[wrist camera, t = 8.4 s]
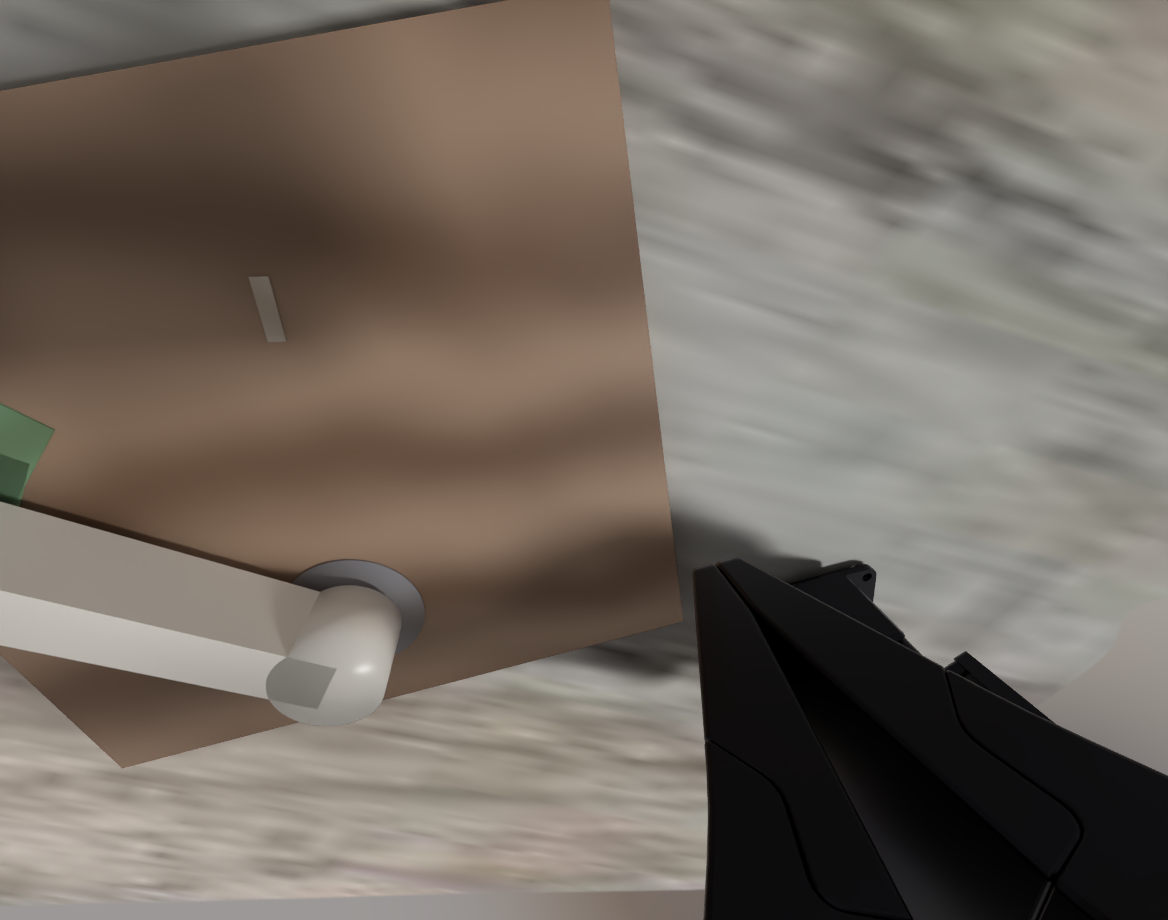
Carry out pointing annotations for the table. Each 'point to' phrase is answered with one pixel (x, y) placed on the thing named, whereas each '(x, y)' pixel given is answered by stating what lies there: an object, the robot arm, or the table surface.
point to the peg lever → (193, 619)
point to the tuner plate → (341, 342)
